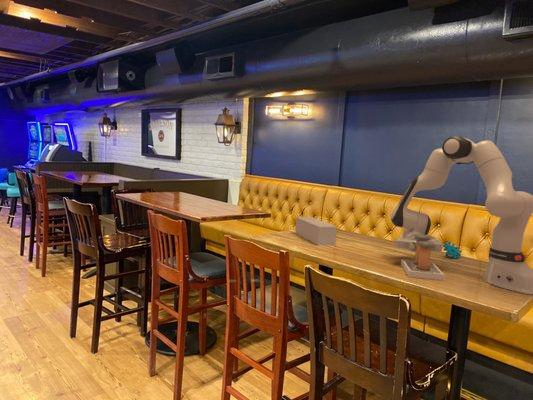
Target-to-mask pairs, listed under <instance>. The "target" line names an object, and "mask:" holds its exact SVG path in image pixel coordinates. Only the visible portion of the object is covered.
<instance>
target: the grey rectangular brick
mask: <svg viewBox="0 0 533 400" xmlns="http://www.w3.org/2000/svg"><path fill="white" fill-rule="evenodd" d="M295 219H296V221H295V231H294V232H295V233H296V234H295V235H297V234H298V235H297V236H299V235H300V236H299V237H301V236H302V237H301V238H303V239H305V240H306V239H307V241H308V240H309V241H308V242H310V241H311V243H313V244H314V245H316V246H319V245H323V246H336V242H337V241H336V240H337V237H336V236H337V229H338V226H336V225H333V224H331V223H328V222H325V221H322V220H320V219H318V218H315V217H313V216H296V217H295Z"/></svg>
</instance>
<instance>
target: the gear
mask: <svg viewBox="0 0 533 400" xmlns="http://www.w3.org/2000/svg"><path fill="white" fill-rule="evenodd" d="M442 251H445V256H446V257H447V256H448V257H449V258H450V259H451V258H453V259H454V260H456V259H460V257H461V256H462V254H461V253H462V252H463V250H462V249H459V246H456V244H455V243H451V241H448V242H444V244H443V247H442Z"/></svg>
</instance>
